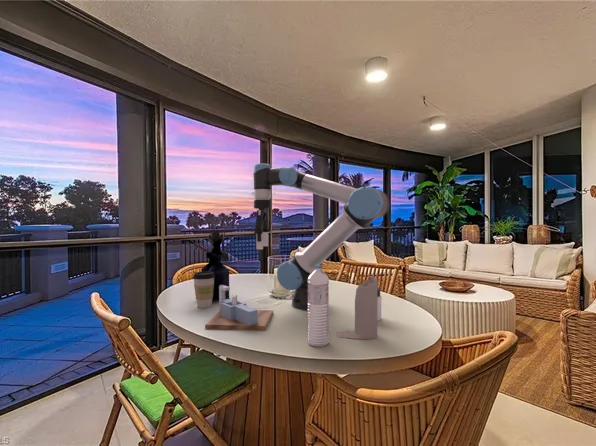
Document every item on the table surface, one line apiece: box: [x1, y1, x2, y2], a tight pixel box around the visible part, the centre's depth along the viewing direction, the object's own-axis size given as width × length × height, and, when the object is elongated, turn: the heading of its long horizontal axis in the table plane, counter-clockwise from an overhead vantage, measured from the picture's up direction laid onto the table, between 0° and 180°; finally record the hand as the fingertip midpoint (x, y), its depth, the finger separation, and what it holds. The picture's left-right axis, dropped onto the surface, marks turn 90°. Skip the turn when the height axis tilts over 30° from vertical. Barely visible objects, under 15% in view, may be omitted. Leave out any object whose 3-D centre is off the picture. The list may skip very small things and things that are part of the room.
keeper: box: [218, 285, 231, 312], centre depth 132 cm, size 6×2×12 cm, turn 41°
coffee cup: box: [192, 271, 215, 309], centre depth 145 cm, size 10×10×15 cm
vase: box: [201, 227, 230, 303], centre depth 158 cm, size 14×12×35 cm
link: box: [221, 298, 259, 326], centre depth 124 cm, size 21×7×5 cm, turn 43°
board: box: [204, 309, 274, 331], centre depth 125 cm, size 22×19×2 cm
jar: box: [377, 287, 382, 322], centre depth 127 cm, size 9×8×12 cm
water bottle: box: [307, 264, 330, 348], centre depth 102 cm, size 7×7×25 cm
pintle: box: [231, 294, 238, 306], centre depth 126 cm, size 2×2×10 cm
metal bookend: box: [336, 275, 378, 340], centre depth 109 cm, size 7×14×20 cm, turn 88°
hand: (262, 247), depth 142 cm, fingers open, 13 cm apart
